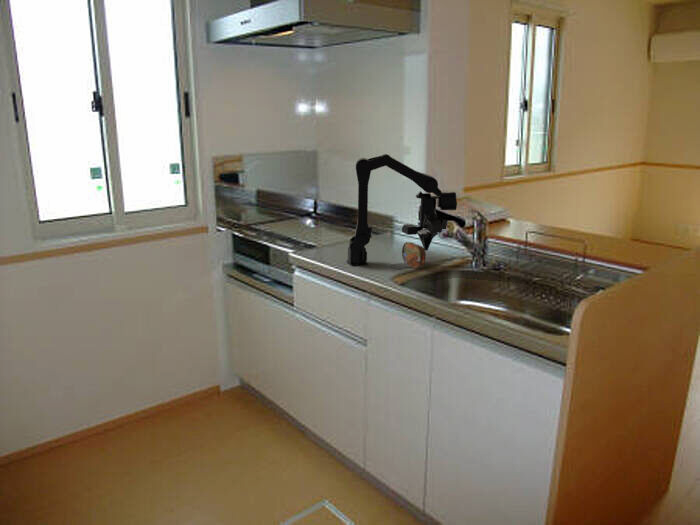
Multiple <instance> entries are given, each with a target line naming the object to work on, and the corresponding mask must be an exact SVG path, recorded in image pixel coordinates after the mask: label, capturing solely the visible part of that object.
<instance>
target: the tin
mask: <svg viewBox="0 0 700 525" xmlns="http://www.w3.org/2000/svg"><path fill="white" fill-rule="evenodd" d="M401 249H402V250H401V255H402V260H403V263H406V264H408V265H410V266H412V268H413V269H421V268H423V267H424V266H425V264H426V256H427V254H426V251H425V250H424V248H423V246H421V245H419V244H416V243H414V242H407V241H406V242H404V244H403V246H402V248H401Z"/></svg>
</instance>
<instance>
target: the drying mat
mask: <svg viewBox="0 0 700 525" xmlns="http://www.w3.org/2000/svg"><path fill="white" fill-rule="evenodd" d="M389 266H390V267H392V268H394V269H395V270H404V269H403V268H405V269H411V268H413V267H412V266H410V265H408V264H406V263H405V262H397V263H389Z"/></svg>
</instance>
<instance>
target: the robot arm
mask: <svg viewBox="0 0 700 525" xmlns="http://www.w3.org/2000/svg"><path fill="white" fill-rule="evenodd" d="M382 167H387V168H388V169H391V170H393V171H394V172H396V173H398V174H400V175H401V176H404V177H406V178H407V179H409V180H410V181H412V182H413V183H415V184H416V185H417V186H419V187H420V188H421V189H422V190H423V191H424V192H425V193H424V192H422V191H421V190H420V191H419V192H418V193H417V194H416V195H415V198H417V199H420V211H418V215H419V222H417V225H418V226H417V225H415V224H412V223H411V224H410V223H409V224H403V225H402V227H401V233H403V234H406V235H407V236H412V235H418V237H419V240H420V242H421V245H422V247H423V248H424V250H425V252H426V251H429V248H430V247H431V246H430V245H431V243H432V241H433V239H435V237H436V236H439V234H441V233H442V232H443V230H442V229H446V225H447V223H448V219H446V218H441V219H439V218H438V213H436V212H437V211H436V210H437V208H439V210H440V211H456V210H457V207H458V201H457V192H455V191H450V192H447V191H446V192H445V191H444V192H442V190H441V189H440V188H439V182H438V180H437V179H436V178H435V177H434V176H432V175H429V174H427V173H424V172H420V171H417V170H415V169H414V168H411V167H409V166H408V165H406V164H404V163H402V162H400V161H399V160H397V159H395V158H394V157H392V156H390V154H388V153H384V154H382V155H378V156H375V157H374V156H373V157H370V158H366V157H361V158H359V159H357V161H356V162H355V172H356V177H357V183H358V187H357V190H358V194H357V195H358V196H357V197H358V198H357V199H358V200H357V222H356V227H355V231H354V235H353V236H352V237H351V238H350V239H349V242H348V243H349V245H348V246H349V247H347V260H346V263H348V264H349V265H350V266H351V267H352V266H363V265H368V262H367V261H368V251H367V248H366V246H367V245H368V244H369V243H370V240H371V239H372V238H373V237H372V236H373V235H372V230H373V225H372V224H371V223H369V221H368V212H369V210H368V208H369V207H368V204H369V202H368V200H369V193H368V192H369V182H370V177H371V172H372V171H374V170H377V169H380V168H382ZM431 193H432V194H433V195H431Z"/></svg>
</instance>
